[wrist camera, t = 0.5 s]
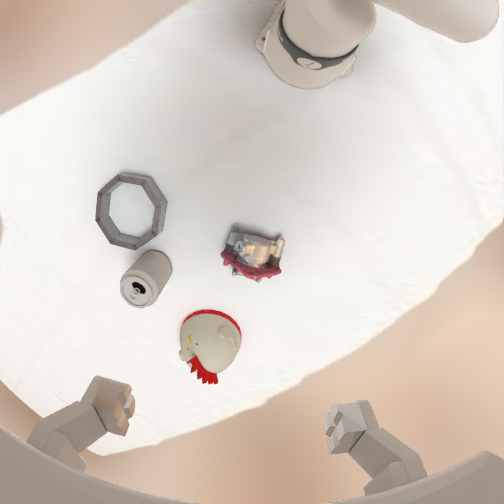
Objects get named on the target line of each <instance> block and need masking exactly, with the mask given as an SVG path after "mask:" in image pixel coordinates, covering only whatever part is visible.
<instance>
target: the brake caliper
mask: <svg viewBox="0 0 504 504" xmlns="http://www.w3.org/2000/svg"><path fill="white" fill-rule="evenodd" d="M284 242H285V240H284V239H282V236H281V235H279V236H278V238H277V241H274V240H267V239H265V238H262V237H259V236H255V235H248V234H247V233H239V229H238V228H234V229H233V231H232V232H231V234H230V237H229V239H228V241H227V244H226V247H225V249H224V251H223V252H222V253H221V257H222V258H224V263H223V265H225V266H227V265H228V264H231V265H232V266H233V272H232V275H233V276H234V275H240V276H245V277H247V278H249V279H253V280H255V281H257V282H258V283H259V282H260V281H261V278H262V277H267V278H271V276H274V275H277V274H280V273H281V269H280V267H279V261H280V259H281V254H282V250H283V247H284Z"/></svg>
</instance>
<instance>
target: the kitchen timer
mask: <svg viewBox="0 0 504 504" xmlns="http://www.w3.org/2000/svg"><path fill="white" fill-rule="evenodd" d="M240 344H241V331H240V328H239V326H238V325H237V323H236V322H235V321H234V320H233V319H232V318H231V317H230V316H228V315H226V314H224V313H222V312H220V311H215V310H201V311H197V312H194V313H193V314H191V315H189V316H188V317H187V318H186V320H185V321H184V323H183V326H182V329H181V332H180V345H181V350H180V351H179V355H180V358H181V359H182V360H183V361H186V363H187V364H188V365H189V366H190V367H191V373H192V372H194V371H195V372H197V379H200V378H202V383H203V384H204V383H206V382H207V380H208V384H212V383H213V382H214V385H215V384H217V383H218V378H217V373H220V372H222V371H223V370H225V369H226V368H227V367H228V366H229V365H230V364H231V363H232V361H233V360H234V358H235V356H236V354H237V353H238V351H239V348H240Z"/></svg>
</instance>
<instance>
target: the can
mask: <svg viewBox="0 0 504 504" xmlns="http://www.w3.org/2000/svg"><path fill="white" fill-rule="evenodd" d="M171 272H172V268H171V264H170V262H169V260H168V258H167V257H166V256H165V255H163V254H162V253H160V252H157V251H148V252H146V253H144V254H143V255H142V256H141V257H140V258H139V259H138V260H137V261H136V262H135V263H134V264H133V265H132V266H131V267H130V268H129V269H128V270H127V271H126V273H125V274H124V275H123V276H122V278H121V281H120V292H121V295H122V297H123V299H124V300H125V301H126V302H127V303H128V304H129V305H131V306H133V307H136V308H144V307H147V306H150V305H152V304H153V303H154V302H155V301H156V300H157V298H158V296H159V295H160V293H161V291H162V290H163V288H164V286H165V285H166V283H167V281H168V280H169V278H170V276H171Z"/></svg>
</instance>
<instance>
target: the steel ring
mask: <svg viewBox="0 0 504 504" xmlns="http://www.w3.org/2000/svg"><path fill="white" fill-rule="evenodd" d="M123 182H126V183H131V184H136V185H141V186H142V187H143V189H144V190H145V192H146V193H147V195H148V197H149V198H150V200H151V201H152V203H153V204H154V206H155V211H154V218H153V225H152V231H150V232H149V233H148V234H146V235H145V236H143V237H142V238H137V237H133V236H129V235H125V234H121V233H120V232H119V230H118V229H117V227H116V226H115V224H114V223H113V221H112V219H111V218H110V216H109V206H110V197H111V192H112V191H114V190H115V189H116V188H117V187H118V186H119V185H121V184H122V183H123ZM166 208H167V201H166V199H165V197H164V196H163V194H162V193H161V191H160V190H159V188H158V187H157V185H156V183H155V182H154V180H153V179H152V178H151V177H146V176H141V175H135V174H130V173H123V174H118V175H117V176H116V177H115V178H113V179H112V180H111V181H110V182H109V183H108V184H106V185H105V186H104V187H103V188H102V189H101V190H100V191H99V192H98V196H97V206H96V219H95V221H96V222H97V224H98V225H99V227H100V228H101V230H102V231H103V233H104V235H105V236H106V238H107V239H108V241H109V242H110V244H113V245H117V246H121V247H125V248H128V249H132V250H137V249H138V248H140V247H141V246H143V245H144V244H146V243H147V242H148V241H150V240H151V239H153V238H154V237H156V236H157V235H158V234H159V233H160V232H162V231H163V226H164V220H165V214H166Z"/></svg>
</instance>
